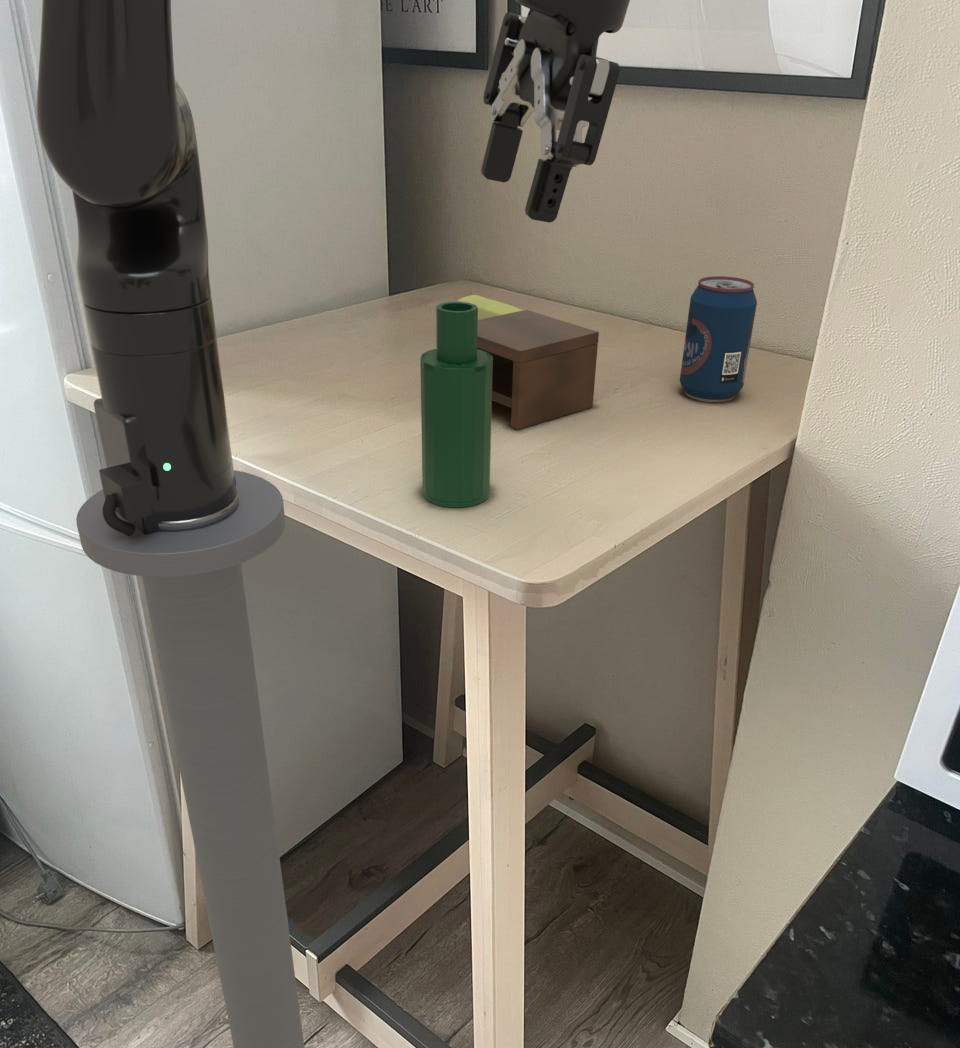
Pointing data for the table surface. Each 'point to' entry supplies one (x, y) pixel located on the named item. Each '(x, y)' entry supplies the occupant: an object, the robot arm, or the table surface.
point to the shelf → (539, 365)
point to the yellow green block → (489, 306)
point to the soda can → (718, 338)
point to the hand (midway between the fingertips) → (515, 198)
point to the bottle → (456, 411)
